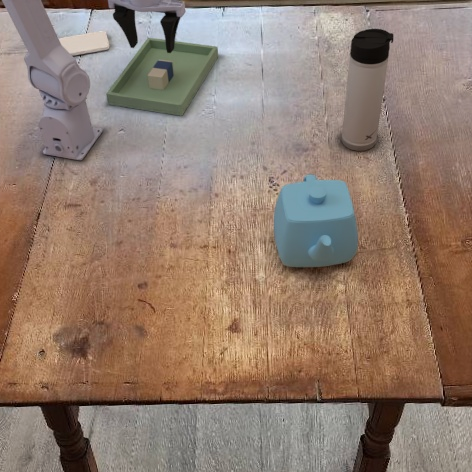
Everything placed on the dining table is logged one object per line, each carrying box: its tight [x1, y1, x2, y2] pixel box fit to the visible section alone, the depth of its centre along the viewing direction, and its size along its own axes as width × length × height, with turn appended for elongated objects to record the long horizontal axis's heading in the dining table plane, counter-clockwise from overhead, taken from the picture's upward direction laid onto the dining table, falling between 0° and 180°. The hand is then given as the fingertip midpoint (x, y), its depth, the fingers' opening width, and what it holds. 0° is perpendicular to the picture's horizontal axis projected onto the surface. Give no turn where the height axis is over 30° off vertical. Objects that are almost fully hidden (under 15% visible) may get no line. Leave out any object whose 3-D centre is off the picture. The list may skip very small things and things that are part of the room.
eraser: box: [148, 60, 174, 90], centre depth 136 cm, size 6×3×3 cm, turn 162°
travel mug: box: [341, 28, 394, 152], centre depth 115 cm, size 6×7×20 cm
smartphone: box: [58, 30, 110, 57], centre depth 147 cm, size 7×1×15 cm
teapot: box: [273, 173, 359, 268], centre depth 102 cm, size 12×18×12 cm
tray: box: [105, 37, 219, 117], centre depth 137 cm, size 22×16×2 cm
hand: (152, 47), depth 131 cm, fingers open, 7 cm apart
